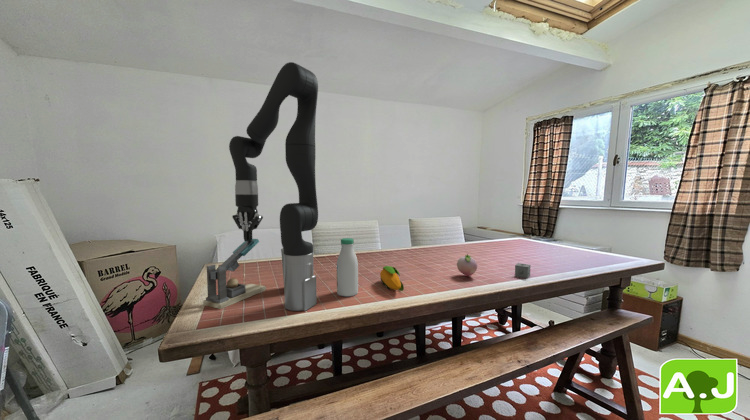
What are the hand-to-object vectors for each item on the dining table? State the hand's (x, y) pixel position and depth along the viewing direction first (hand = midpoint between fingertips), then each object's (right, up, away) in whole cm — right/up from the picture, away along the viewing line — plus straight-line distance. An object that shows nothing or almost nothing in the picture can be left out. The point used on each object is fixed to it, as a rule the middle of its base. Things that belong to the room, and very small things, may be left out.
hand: (248, 240), depth 103 cm
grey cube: (+112, -18, +22) cm, 115 cm away
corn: (+53, -19, +6) cm, 57 cm away
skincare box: (+16, -19, +4) cm, 25 cm away
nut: (-3, -16, -6) cm, 17 cm away
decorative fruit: (+87, -18, +21) cm, 91 cm away
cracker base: (-2, -19, -4) cm, 20 cm away
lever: (-2, -11, -5) cm, 12 cm away
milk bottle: (+36, -19, 0) cm, 41 cm away
